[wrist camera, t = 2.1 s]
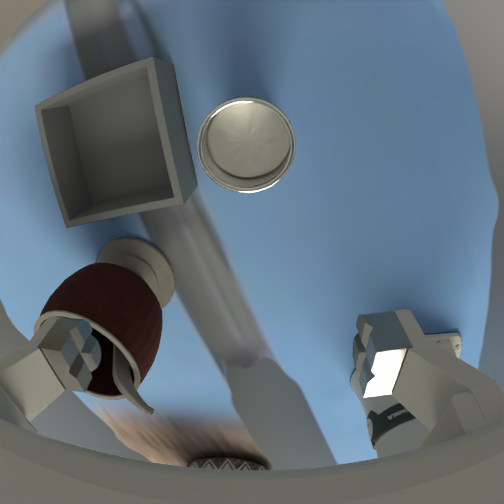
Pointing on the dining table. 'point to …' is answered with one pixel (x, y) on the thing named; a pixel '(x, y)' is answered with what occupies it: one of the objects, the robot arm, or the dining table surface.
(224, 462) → the planter
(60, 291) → the mate gourd
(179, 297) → the dining table surface
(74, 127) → the bin
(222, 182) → the beer glass
